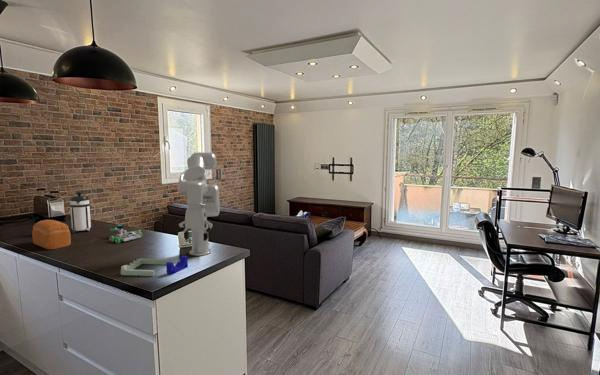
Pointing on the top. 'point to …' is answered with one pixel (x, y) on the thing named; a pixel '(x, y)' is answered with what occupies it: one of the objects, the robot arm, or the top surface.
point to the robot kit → (124, 235)
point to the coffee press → (80, 213)
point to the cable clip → (177, 265)
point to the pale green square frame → (129, 268)
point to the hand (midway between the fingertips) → (196, 239)
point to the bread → (51, 234)
